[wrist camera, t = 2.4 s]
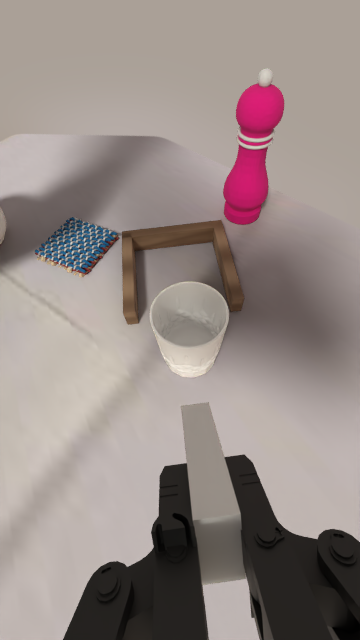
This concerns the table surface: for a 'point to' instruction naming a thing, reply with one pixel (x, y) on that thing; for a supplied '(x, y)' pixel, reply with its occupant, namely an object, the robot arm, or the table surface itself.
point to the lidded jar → (2, 226)
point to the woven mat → (76, 246)
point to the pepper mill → (252, 149)
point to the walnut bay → (177, 237)
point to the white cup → (189, 326)
